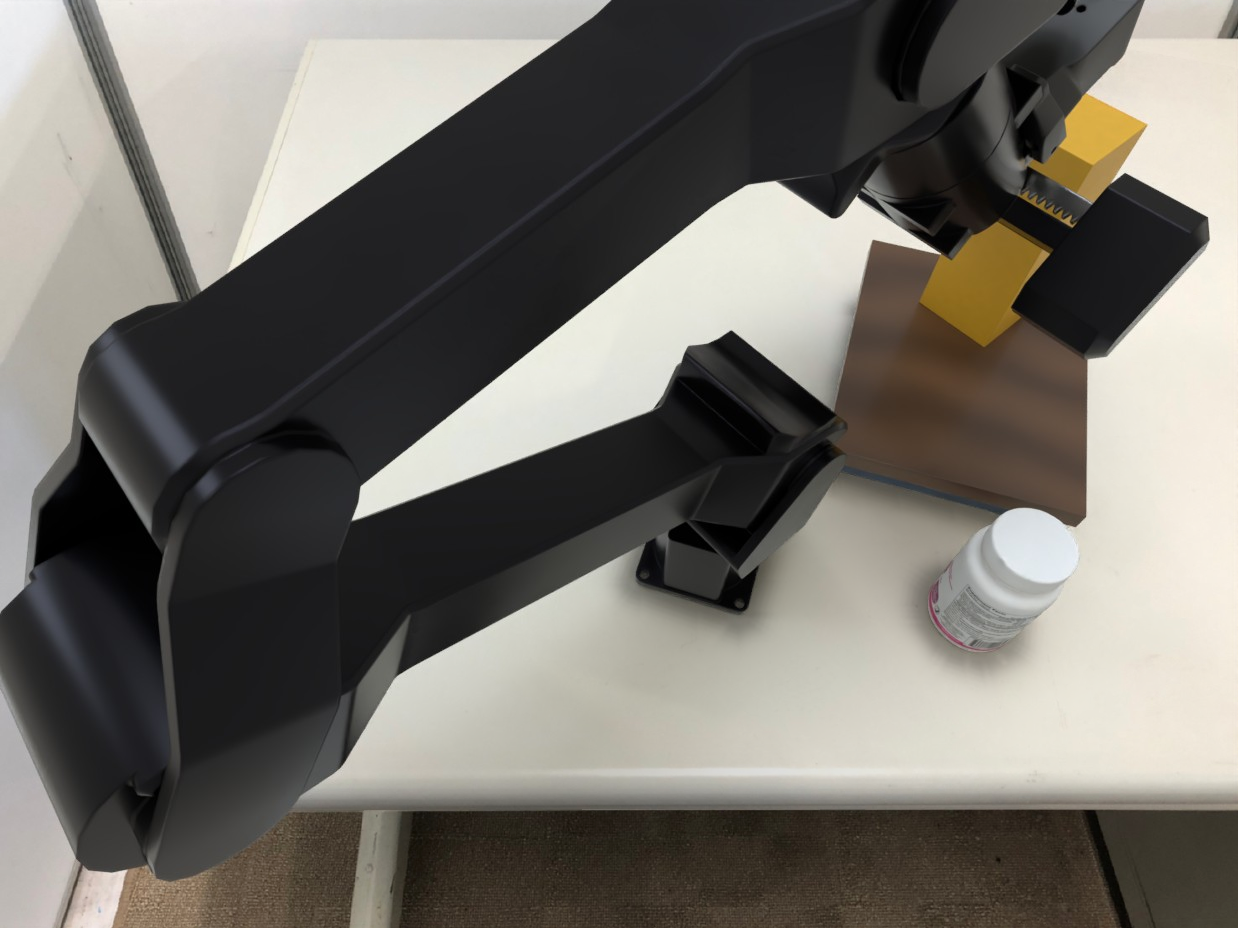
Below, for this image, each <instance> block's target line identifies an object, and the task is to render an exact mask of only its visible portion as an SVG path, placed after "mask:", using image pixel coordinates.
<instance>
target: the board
mask: <svg viewBox="0 0 1238 928" xmlns="http://www.w3.org/2000/svg"><path fill="white" fill-rule="evenodd" d="M940 255H941V253H934V252H931V251H926V250H922V249H917V248H912V247H909V246H904V245H899V244H895V243H891V242H886V241H882V240H877V239H872V240H871V243H870V245H869V249H868V251H867V254H866V258H865V259H866V260H865V264H864V268H863V271H862V272H863V273H862V276H861V281H860V285H859V290H858V294H857V298H856V303H855V307H854V311H853V317H852V320H851V321H852V322H851V325H850V330H849V334H848V339H847V342H846V346H845V352H844V356H843V360H842V365H841V369H840V373H839V378H838V381H837V386H836V391H835V396H834V400H833V404H832V409H831V410H832V411H833V412H835V413H836V414H837V415H838V416H839V417H840V418H842V419H843V420H844V421H845V422H847V425H848V430H847V432H846V433H845V434H844V435H843V436H842V437H841V438H840V439H839V440H838V441H837V443H836V445H835V446H836V447H838V448H839V449H841V450H842V451H843V452H844V453H845V454H847V460H846V463H845V465H844V467H843V468H842V470H841V471H840V472H842V473H845V474H850V475H853V476H857V477H861V478H864V479H867V480H871V481H875V482H879V483H882V484H886V485H891V486H894V487H898V488H901V489H905V490H909V491H912V492H916V493H919V494H922V495H927V496H931V497H934V498H937V499H938V498H939V499H941V500H946V501H949V502H953V503H957V504H960V505H964V506H968V507H970V508H971V507H972V508H975V509H979V510H983V511H986V512H991V513H994V514H998V515H1002V514H1003V513H1005V512H1007V511H1009V510H1012V509H1017V508H1032V509H1037V510H1041V511H1044V512H1046V513H1048V514H1050V515H1052V516H1054V517H1055V518H1057V519H1058V520H1059V521H1061V522H1062V523H1063V524H1064V525H1065V526H1068V527H1072V528H1077V527H1078V526H1079V525H1080V524H1081V523H1082V522H1083V521H1084V520H1085V519H1086V518H1087V500H1088V498H1087V497H1088V494H1087V492H1088V491H1087V487H1088V486H1087V485H1088V483H1087V482H1088V480H1087V479H1088V379H1089V377H1088V375H1089V373H1088V372H1089V371H1088V369H1089V366H1088V361H1089V359H1088V360H1084V359H1082V358H1081V357H1079V356H1078V355H1076V354H1075V353H1073V352H1072V351H1070V350H1069V349H1067V348H1065V347H1064V346H1062V345H1061V344H1059V343H1058V342H1056V341H1055V340H1053V339H1052V338H1050V337H1049V336H1047V335H1046V334H1044V333H1043V332H1041V331H1040V330H1038V329H1037V328H1035V327H1033V326H1032V325H1030V324H1029V323H1028V322H1027V321H1025V320H1024V319H1023V318H1020V319H1019V320H1017V321H1016V322H1015V323H1014V324H1013V325H1011V326H1010V327H1009V328H1008V329H1006V330H1005V331H1004V332H1003V333H1002V334H1000V335H999V336H998V337H997V338H995V339H994V340H993V341H992V342H991V343H989V344H988V345H987V346H986V347H983V346H981V345H980V344H979V343H977V342H976V341H974V340H973V339H971V338H970V337H969V336H967V335H966V334H964V333H963V332H961V331H960V330H959V329H957V328H956V327H954V326H953V325H951V324H950V323H948V322H947V321H946V320H944V319H943V318H941V317H940V316H938V315H937V314H936V313H934V312H933V311H931V310H930V309H928V308H927V307H926V306H924V305H923V304H921V303H920V302H919V301H920V299H921V297H922V295H923V292H924V290H925V288H926V286H927V284H928V282H929V279H930V277H931V275H932V273H933V271H934V269H935V266H936V264H937V262H938V260H939V258H940Z"/></svg>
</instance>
